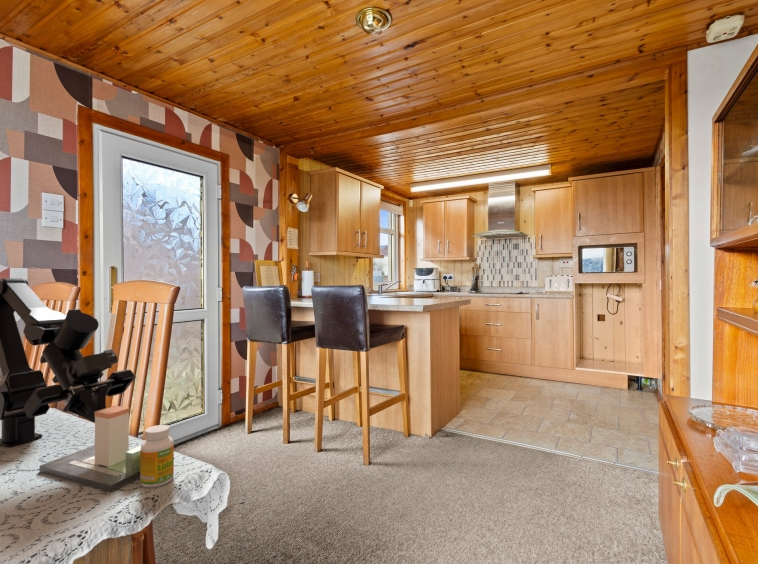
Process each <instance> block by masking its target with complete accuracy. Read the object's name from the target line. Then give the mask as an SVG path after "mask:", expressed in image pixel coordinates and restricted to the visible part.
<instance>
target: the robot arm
mask: <svg viewBox="0 0 758 564" xmlns="http://www.w3.org/2000/svg"><path fill="white" fill-rule="evenodd" d="M15 313H16V314H17V316H19V318H20V319H21V320H22V321H23V323H24V324H25V325H24V328H23V332H22V333H23V335H24V337H25V339H26V340H27V342H28V343H29V344H30V345H32V346H34V347H35V346H44V345H46V346H45V348H44V349H43V350H42V355H41V356H40V359H39V363H40V364H45V363H47V364H48V366H49V368H50V369H51V372H52V373H53V375H54V376H53V377H52V378H51V381H52V382H53V384H51V385H47V383H46V380H45V376H44V373H43V372H42V371H41V369H37V370H34V369H33V368H31V367H30V364H29V360H28V356H27V354H26V350H25V348H24V344H23V340H22V337H21V334H20V331H19V327H18V326H19V325H18V324H17V321H16V317H15ZM99 324H100V323H99V320H98V319H97V318H95V317H93V316H92V315H91V314H88V313H84V312H82V311H81V309H80V308H77V309H69V310H68V311H67V313H66V315H65V314H64V313H62V312H60V311H57V310H52V309H50V307H48V306H47V305H46V304H45V303H44V302H43V300H41V298H40V297H39V296H38V295H37V293H35V292H34V291H33V290H32V289H31V287H30V286H29V281H28V280H26V279H23V278H5V277H4V278H1V279H0V371H1V374H2V378H1V380H0V421H1V437H0V445H1V446H4V447H8V448H10V447H14V446H17V445H20V444H23V443H24V444H25V443H27V442H30V441H33V440H36V439H40V438H42V437H43V434H41V433H38V432H36V417H39V416H43V415H46V414H47V413H48V411H49V410H50V405H51V404H55V403H60V402H64V405H65V406H64V407H63V409H62V410H63V412H65V413H66V412H69V413H71V414H75V415H77V416H80V417H82V418H84V419H86V420H88V421H90V422H92V423H94V424H95V411H99V410H102V409H106V408H107V405H106V404H107V403H106V402H107V401H106V399H107V397H113V396H118V395H121V394H124V393H125V392H126V390H128V388H129V387H130V385H131V384H132V383H133V382H134V380H135V379H136V378H137V377H136V375H135V373H134V372H133V370H131V369H123V370H118V371H113V372H111V374H110V375H109V376H108V377H107V379H106V380H100V381H99V379H102V377H103V376H104V371H106V370H107V369H111V368H112V367H113V365H115V364H117V363H118V360H119V358H118V356H117V353H116V352H115V351H114V350H113V349H106V350H103V351H102V352H100V353H95V354H94V353H93V354H89V355H85V356H84V355H83V354H82V352H81V350H82V349H85V347H87V345H88V344H89V342H90V341H91V339H92V338H93V336H94V334H95V333H96V331H97V330H98V329H99V326H100V325H99ZM57 383H58V384H57Z"/></svg>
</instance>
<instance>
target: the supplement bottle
mask: <svg viewBox="0 0 758 564" xmlns="http://www.w3.org/2000/svg"><path fill="white" fill-rule="evenodd" d="M144 439H145V440H144V441H142V443H141V445H140V446H141V450H140V478H139V479H140V481H139V482H140V483H139V484H140V485H141V486H142V487H143V488H158V487H162V486H164V485H166V484H168V483H169V482H171V481H172V480H173V478H174V471H175V469H174V465H175V464H174V462H175V460H174V456H175V455H174V454H175V450H174V449H175V448H174V447H175V445H174V444H175V442H174V439H173V437H171V436H170V426H169V425H168V424H158V425H153V426H150V427H147V428H146V429H145V430H144Z"/></svg>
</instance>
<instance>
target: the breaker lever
mask: <svg viewBox="0 0 758 564" xmlns="http://www.w3.org/2000/svg"><path fill="white" fill-rule="evenodd" d="M129 415H130V407H126V406H125V407H124V406H120V405H119V406H118V405H113V406H110V407H109V406H108V407H106V409H102V410H99V411H95V423H94V445H95V463H96V464H99V465H103V466H107V467H110V466H112V465H114V464H117V463H119V462H121V461H123V460H126V452H127V451H129V449H130V448H129V446H130V445H129V444H130V438H129V437H130V435H129V434H130V428H129V427H130V422H129V420H130V416H129Z"/></svg>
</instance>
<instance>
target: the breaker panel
mask: <svg viewBox="0 0 758 564" xmlns="http://www.w3.org/2000/svg"><path fill="white" fill-rule="evenodd" d="M140 450H141V445H139V446H137V447H134V448H132V449H130V450H129V451H127V452H126V460H123V461H121V462H119V463H117V464H114V465H112V466H110V467H107V466H103V465H99V464H96V463H95V444H94V445H92V446H88V447H86V448H84V449H81V450H78V451H75V452H72V453H70V454H67V455H64V456H62V457H59V458H57V459H54V460H51V461H48V462H46V463H42V464H40V465H39V473H42V474H45V475H49V476H52V477H56V478H60V479H63V480H65V481H68V482H73V483H76V484H80V485H84V486H87V487H91V488H94V489H97V490H100V491H102V492H103V491H104V492H108V493H112V492H114V491H116V490H118V489H120V488H123V487H124V486H126V485H128V484H131V483H132V482H135V481H136V480H139V479H140Z"/></svg>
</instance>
